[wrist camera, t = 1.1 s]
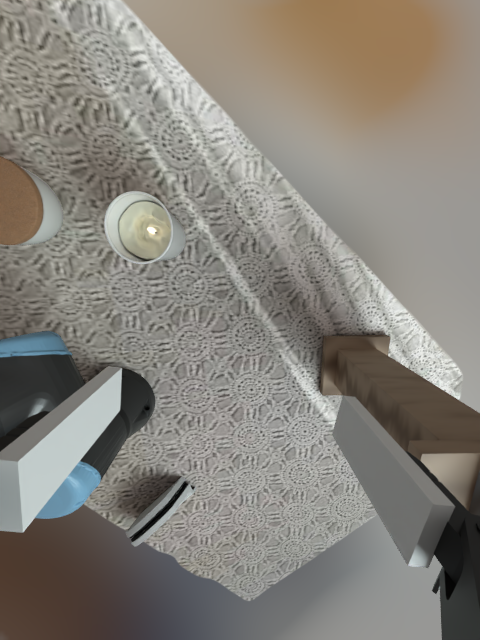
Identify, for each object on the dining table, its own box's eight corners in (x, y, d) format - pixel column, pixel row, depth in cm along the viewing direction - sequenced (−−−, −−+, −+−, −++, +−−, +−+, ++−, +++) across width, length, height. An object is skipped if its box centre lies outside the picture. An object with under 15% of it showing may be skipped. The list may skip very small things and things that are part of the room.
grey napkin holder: (155, 524, 62) (128, 561, 52) (144, 508, 63) (116, 542, 53) (197, 487, 59) (177, 519, 49) (185, 471, 60) (163, 500, 50)
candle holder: (199, 226, 45) (184, 213, 33) (177, 273, 47) (155, 276, 35) (151, 199, 44) (118, 176, 32) (131, 248, 46) (93, 242, 34)
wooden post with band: (385, 390, 52) (583, 564, 22) (313, 391, 53) (412, 566, 22) (392, 334, 49) (634, 447, 19) (316, 335, 50) (435, 450, 19)
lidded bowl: (21, 161, 42) (-54, 127, 31) (87, 199, 44) (37, 177, 33) (1, 227, 45) (-74, 215, 34) (65, 260, 46) (11, 259, 35)
